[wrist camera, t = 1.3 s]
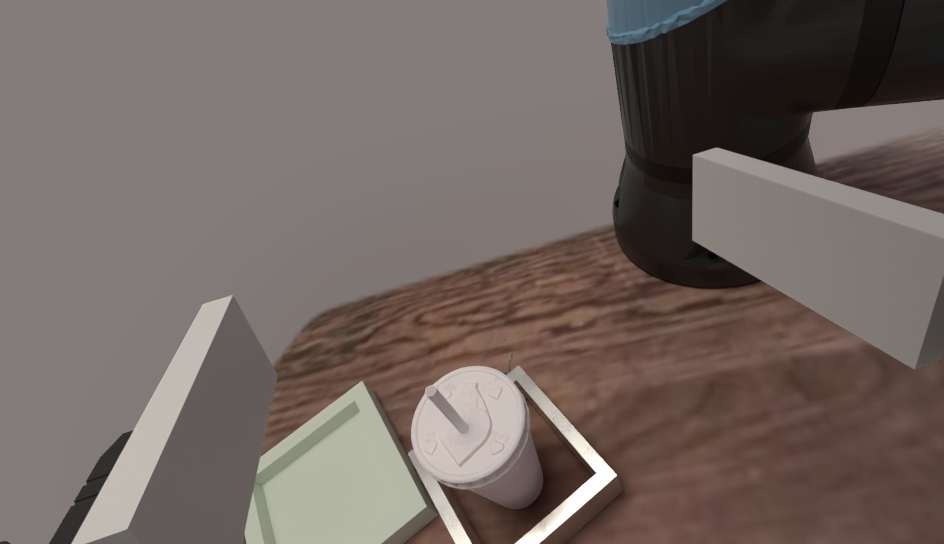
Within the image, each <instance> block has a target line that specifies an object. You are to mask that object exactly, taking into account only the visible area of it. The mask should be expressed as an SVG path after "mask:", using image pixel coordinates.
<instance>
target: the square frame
mask: <svg viewBox="0 0 944 544" xmlns="http://www.w3.org/2000/svg"><path fill="white" fill-rule="evenodd" d="M506 376H507V377H509V378H510V379H511V380H512V381H513V382H514V384H515V385H516V386H517V388H518V389H519V390H520V392H521V393H522V394H523V395H524V398H525V400H527V399H528V401H529V402H530V403H531V404H532V405H533V406H534V408H535V409H536V410H537V411H538V412H539V414H540V415H541V416H542V417H543V418H544V419H545V421H546V422H547V423H548V424H549V425H550V427H551V428H552V429H553V430H554V431H555V432H556V434H557V435H558V436H559V437H560V438H561V439H562V441H563V442H564V443H565V444H566V445H567V447H568V448H569V449H570V450H571V451H572V452H573V454H574V455H575V456H576V457H577V458H578V460H579V461H580V462H581V463H582V464H583V465H584V467H585V468H586V469H587V470H588V471H589V473H590V474H591V475H592V476H593V477H592V478H590V479H589V480H588V481H587V482H586V483H585V484H583V485H582V486H581V487H580V488H579V489H578V490H577V491H575V492H574V493H573V494H572V495H571V496H570V497H568V498H567V499H566V500H565V501H564V502H563V503H561V504H560V505H559V506H558V507H557V508H556V509H555V510H553V511H552V512H551V513H550V514H549V515H548V516H546V517H545V518H544V519H543V520H542V521H541V522H540V523H538V524H537V525H536V526H535V527H534V528H533V529H531V530H530V531H529V532H528V533H527V534H526V535H525V536H523V537H522V538H521V539H520V540H519V541H518V542H516V543H515V544H564V543H565V542H567V541H568V540H569V539H570V538H571V537H572V536H573V535H574V534H576V533H577V532H578V531H579V530H580V529H581V528H582V527H584V526H585V525H586V524H587V523H588V522H589V521H590V520H591V519H593V518H594V517H595V516H596V515H597V514H598V513H599V512H601V511H602V510H603V509H604V508H605V507H606V506H607V505H608V504H610V503H611V502H612V501H613V500H614V499H615V498H616V497H618V496H619V495H620V494H621V493H622V492H623V490H622V487H621V485H620V482H619V479H618V476H617V475H616V474H615V472H614V471H613V470H612V469H611V468H610V467H609V466H608V465H607V464H606V462H605V461H604V460H603V459H602V458H601V457H600V456H599V455H598V453H597V452H596V451H595V450H594V449H593V448H592V447H591V446H590V445H589V443H588V442H587V441H586V440H585V439H584V438H583V437H582V436H581V434H580V433H579V432H578V431H577V430H576V429H575V428H574V427H573V426H572V424H571V423H570V422H569V421H568V420H567V419H566V418H565V417H564V415H563V414H562V413H561V412H560V411H559V410H558V409H557V408H556V407H555V405H554V404H553V403H552V402H551V401H550V400H549V399H548V398H547V396H546V395H545V394H544V393H543V392H542V391H541V390H540V389H539V388H538V386H537V385H536V384H535V383H534V382H533V381H532V380H531V379H530V377H529V376H528V375H527V374H526V373H525V372H524V371H523V370H522V369H521V367H520V366H517V367H516V368H515V369H514V370H512V371H511V372H510V373H508V374H507V375H506ZM408 455H409V457H410V459H411V461H412V463H413V465H414V466H415V468H416V470H417V472H418V474H419V476H420V478H421V480H422V481H423V483H424V485H425V487H426V489H427V491H428V493H429V495H430V497H431V498H432V500H433V502H434V504H435V506H436V508H437V510H438V512H439V514H440V515H441V517H442V519H443V521H444V523H445V525H446V527H447V529H448V530H449V532H450V534H451V536H452V538H453V540H454V542H455V544H482V543H481V541H480V540H479V538H478V536H477V534H476V533H475V531H474V529H473V527H472V526H471V524H470V522H469V520H468V519H467V517H466V515H465V513H464V512H463V510H462V508H461V506H460V505H459V503H458V501H457V499H456V498H455V496H454V494H453V493H452V491H451V489H450V487H448V486H446V485H444V484H442V483H441V482H439V481H437V480H435V479H434V478H433V477H432V476H431V475H430V474H429V472H428V471H427V470H426V469H425V468H424V467H423V466H422V465H421V464H420V462H419V460H418V459H417V457H416V455H415V452H414V449H413V450H411V451H410V452H409V453H408Z"/></svg>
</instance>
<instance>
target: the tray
mask: <svg viewBox="0 0 944 544" xmlns="http://www.w3.org/2000/svg"><path fill="white" fill-rule="evenodd" d="M438 515H439V514H438V512H437V510H436V509H435V507H434V505H433V503H432V501H431V499H430V497H429V495H428V493H427V492H426V490H425V488H424V486H423V484H422V482H421V480H420V478H419V476H418V474H417V473H416V471H415V469H414V467H413V465H412V463H411V461H410V459H409V457H408V456H407V454H406V452H405V450H404V448H403V446H402V444H401V442H400V440H399V438H398V437H397V435H396V433H395V431H394V429H393V427H392V425H391V423H390V421H389V420H388V418H387V416H386V414H385V412H384V410H383V408H382V406H381V404H380V403H379V401H378V399H377V397H376V395H375V393H374V392H373V391H372V390H371V389H370V388H369V387H368V386H367V385H366V384H365V383H364V382H363V381H361V382H360V383H359V384H357V385H356V386H355V387H353V388H352V389H351V390H349V391H348V392H347V393H345V394H344V395H343V396H341V397H340V398H339V399H337V400H336V401H335V402H333V403H332V404H331V405H329V406H328V407H327V408H325V409H324V410H323V411H321V412H320V413H319V414H317V415H316V416H315V417H313V418H312V419H311V420H309V421H308V422H307V423H305V424H304V425H303V426H301V427H300V428H299V429H297V430H296V431H295V432H293V433H292V434H291V435H289V436H288V437H287V438H285V439H284V440H283V441H281V442H280V443H279V444H277V445H276V446H275V447H273V448H272V449H271V450H269V451H268V452H267V453H265V454H264V455H263V456H261V457H260V460H259V465H258V470H257V475H256V479H255V484H254V489H253V494H252V498H251V503H250V508H249V513H248V517H247V522H246V527H245V531H244V532H245V537H246V543H247V544H404V543H405V542H407V541H408V540H409V539H410V538H411V537H413V536H414V535H415V534H416V533H417V532H419V531H420V530H421V529H422V528H424V527H425V526H426V525H427V524H428V523H430V522H431V521H432V520H433V519H434V518H436V517H437V516H438Z"/></svg>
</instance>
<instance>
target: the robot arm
mask: <svg viewBox="0 0 944 544" xmlns="http://www.w3.org/2000/svg"><path fill="white" fill-rule="evenodd" d="M607 8H608V20H607V25H606V32H607V36H608V37H609V39H610V41H611V45H612V53H613V60H614V67H615V75H616V82H617V89H618V96H619V103H620V111H621V118H622V125H623V133H624V139H625V147H626V155H625V159H624V162H623V166H622V171H621V174H620V178H619V186H618V188H617V190H616V193H615V197H614V201H613V221H614V227H615V232H616V237H617V240H618V243H619V245H620V247H621V248H622V250H623V252H624V253H625V254H626V255H627V257H628V258H629V259H630V260H631V261H632V262H633V263H635V264H636V265H637V266H638V267H640V268H641V269H643V270H644V271H646V272H648V273H650V274H652V275H654V276H656V277H658V278H661V279H663V280H666V281H670V282H673V283H677V284H681V285H687V286H694V287H710V288H715V287H730V286H737V285H743V284H748V283H752V282H755V281H759V280H762V281H763V282H765V283H767V284H768V285H770V286H772V287H774V288H775V289H777V290H779V291H780V292H782V293H784V294H786V295H787V296H789V297H791V298H792V299H794V300H796V301H798V302H799V303H801V304H803V305H804V306H806V307H808V308H810V309H811V310H813V311H815V312H816V313H818V314H820V315H822V316H823V317H825V318H827V319H828V320H830V321H832V322H834V323H835V324H837V325H839V326H840V327H842V328H844V329H846V330H847V331H849V332H851V333H852V334H854V335H856V336H858V337H859V338H861V339H863V340H864V341H866V342H868V343H870V344H871V345H873V346H875V347H876V348H878V349H880V350H882V351H883V352H885V353H887V354H888V355H890V356H892V357H894V358H895V359H897V360H899V361H900V362H902V363H904V364H906V365H907V366H909V367H911V368H912V369H914V370H915V369H918V368H921V367H923V366H926V365H929V364H931V363H934V362H937V361H939V360H942V359H944V214H942V213H939V212H936V211H932V210H929V209H925V208H922V207H919V206H915V205H912V204H908V203H905V202H901V201H898V200H895V199H891V198H888V197H884V196H881V195H878V194H874V193H871V192H867V191H864V190H860V189H857V188H854V187H850V186H847V185H843V184H840V183H837V182H833V181H830V180H826V179H823V178H819V177H818V176H817V171H816V166H815V162H814V158H813V154H812V150H811V146H810V142H809V138H808V134H809V129H810V123H811V118H812V114H813V112H820V111H828V110H837V109H846V108H855V107H867V106H877V105H888V104H899V103H910V102H920V101H931V100H942V99H944V0H607ZM276 380H277V373H276V371H275V369H274V368H273V366H272V364H271V362H270V360H269V359H268V357H267V355H266V353H265V351H264V350H263V348H262V346H261V344H260V343H259V341H258V339H257V337H256V335H255V334H254V332H253V330H252V328H251V326H250V325H249V323H248V321H247V319H246V317H245V316H244V314H243V312H242V310H241V308H240V307H239V305H238V303H237V301H236V299H235V298H234V296H233V295H231V296H228V297H225V298H222V299H218V300H215V301H212V302H208V303H205V304H203V305H202V307H201V309H200V311H199V312H198V314H197V316H196V318H195V320H194V322H193V324H192V325H191V327H190V329H189V331H188V333H187V334H186V336H185V338H184V340H183V342H182V343H181V345H180V347H179V349H178V351H177V353H176V354H175V356H174V358H173V360H172V362H171V363H170V365H169V367H168V369H167V371H166V372H165V374H164V376H163V378H162V380H161V382H160V383H159V385H158V387H157V389H156V391H155V392H154V394H153V396H152V398H151V400H150V402H149V403H148V405H147V407H146V409H145V411H144V412H143V414H142V416H141V418H140V420H139V422H138V424H137V425H136V427H135V429H134V430H133V431H130V432H127V433H124V434H122V435H121V436H120V437H119V438H118V439H117V440H116V442H115V443H114V444H113V445H112V446H111V447H110V448H109V449H108V450H107V451H106V452H105V453H104V454H103V455H102V456H101V457H100V459H99V460H98V462H97V464H96V465H95V467H94V469H93V471H92V473H91V474H90V476H89V477H88V479H87V481H86V482H87V485H85V486H83V487H82V489H81V491H80V492H79V494H78V496H77V497H76V499H75V501H74V502H75V505H74V506H72V507H71V508H70V509H69V511H68V513H67V514H66V516H65V518H64V519H63V521H62V523H61V524H60V526H59V528H58V529H57V531H56V533H55V535H54V537H53V538H52V540H51V541H50V543H49V544H242V541H243V536H244V531H245V527H246V522H247V517H248V513H249V508H250V503H251V498H252V494H253V489H254V484H255V479H256V475H257V470H258V465H259V460H260V456H261V451H262V446H263V442H264V437H265V432H266V427H267V423H268V418H269V413H270V408H271V404H272V399H273V394H274V389H275V385H276ZM0 544H10V543H9V542H7V541H3V542H0Z"/></svg>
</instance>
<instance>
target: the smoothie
mask: <svg viewBox="0 0 944 544" xmlns="http://www.w3.org/2000/svg"><path fill="white" fill-rule="evenodd" d="M529 429H530V415H529V408H528V406H527V403H526V400H525V398H524V395H523V394H522V393H521V392H520V390H519V389H518V388H517V386H516V385H515V384H514V382H513V381H512V380H511V379H510V378H509V377H507V376H506V375H505V374H503V373H502V372H500V371H498V370H496V369H493V368H489V367H484V366H470V367H464V368H460V369H457V370H455V371H452V372H450V373H448V374H447V375H445V376H443V377H442V378H440V379H439V380H438V381H437V382H435V383H434V384H433V385H430V386H428V387H427V388H426V390H425V394H424V396H423V397H422V399H421V401H420V402H419V404H418V406H417V409H416V411H415V414H414V417H413V422H412V429H411V438H412V445H413V449H414V452H415V455H416V457H417V459H418V460H419V462H420V464H421V465H422V466H423V467H424V468H425V469H426V470H427V471H428V472H429V474H430V475H431V476H432V477H433V478H434V479H435V480H437V481H439V482H441V483H442V484H444V485H446V486H448V487H453V488H458V489H463V490H464V489H468V490H470V491H473V492H475V493H477V494H479V495H481V496H483V497H485V498H487V499H489V500H491V501H493V502H495V503H497V504H499V505H501V506H503V507H506V508H508V509H522V508H525V507H527V506H529V505H531V504H532V503H533V502H534V501H535V500H536V499H537V498H538V496H539V494H540V492H541V490H542V487H543V472H542V468H541V465H540V462H539V459H538V456H537V453H536V449H535V446H534V443H533V440H532V437H531V434H530V430H529Z"/></svg>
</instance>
